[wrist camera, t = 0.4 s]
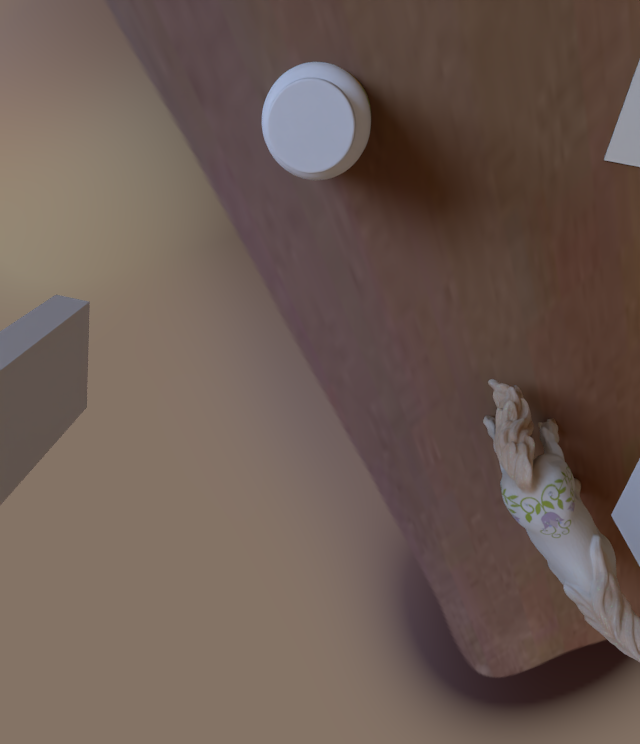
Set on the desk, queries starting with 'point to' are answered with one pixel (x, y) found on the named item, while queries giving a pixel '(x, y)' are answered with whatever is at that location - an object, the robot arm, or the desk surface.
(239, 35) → the desk surface
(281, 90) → the supplement bottle
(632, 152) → the tile
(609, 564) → the unicorn figurine
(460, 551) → the desk surface
